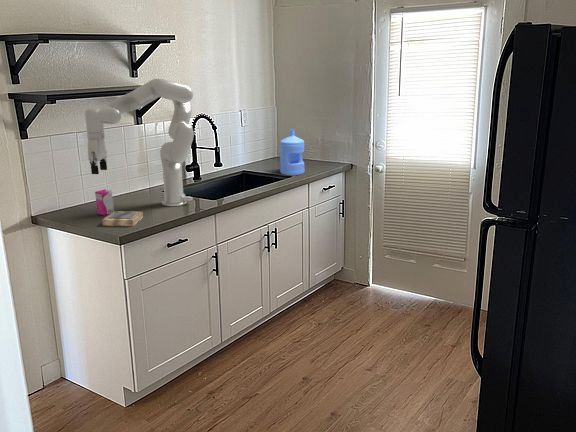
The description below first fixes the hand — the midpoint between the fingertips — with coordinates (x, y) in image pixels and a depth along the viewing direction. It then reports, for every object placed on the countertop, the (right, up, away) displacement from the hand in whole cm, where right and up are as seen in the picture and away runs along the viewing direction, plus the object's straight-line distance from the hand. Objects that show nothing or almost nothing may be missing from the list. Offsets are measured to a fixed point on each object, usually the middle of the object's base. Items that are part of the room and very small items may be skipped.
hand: (99, 171), depth 263 cm
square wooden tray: (+13, -23, -6) cm, 27 cm away
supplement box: (+1, -20, +7) cm, 21 cm away
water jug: (+92, +7, +97) cm, 133 cm away
